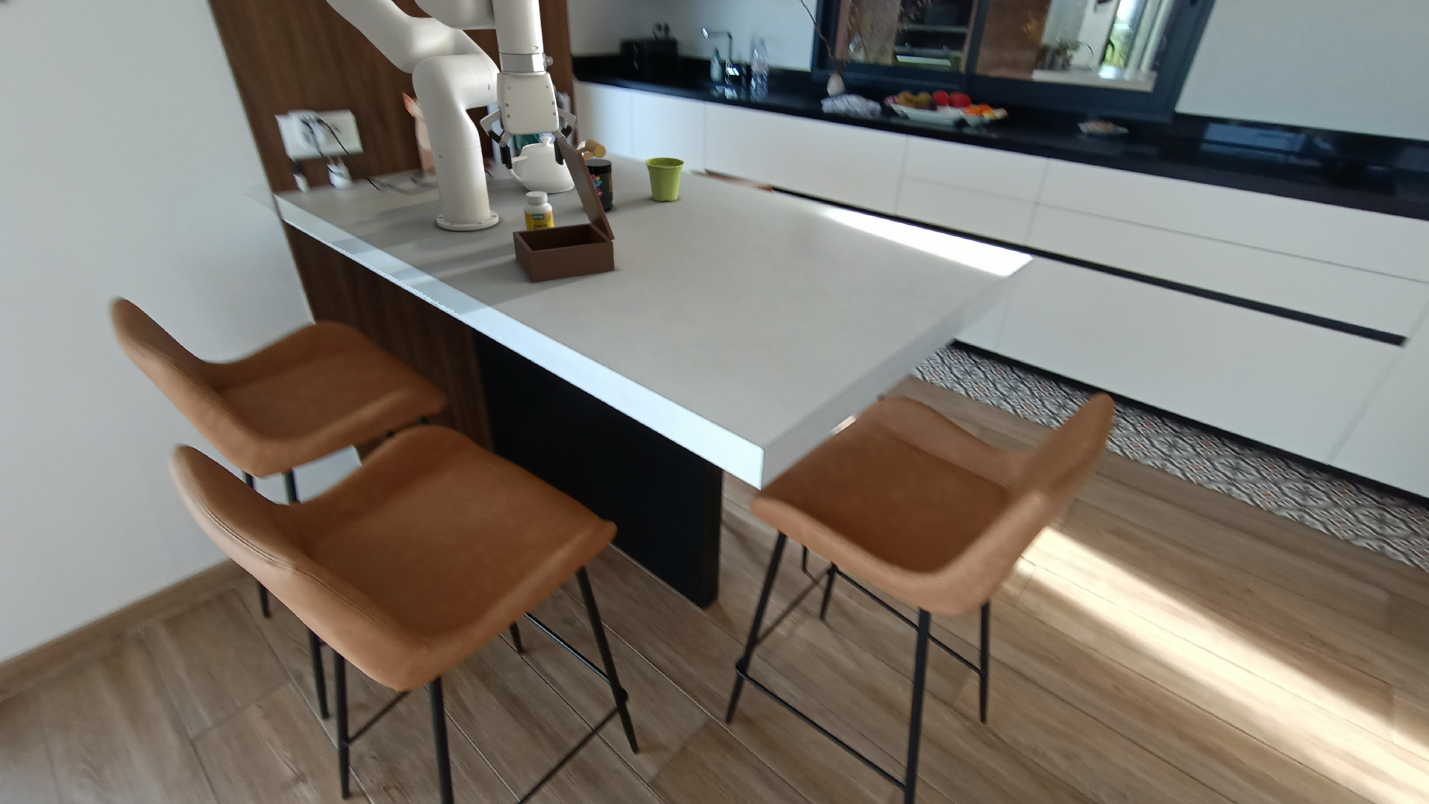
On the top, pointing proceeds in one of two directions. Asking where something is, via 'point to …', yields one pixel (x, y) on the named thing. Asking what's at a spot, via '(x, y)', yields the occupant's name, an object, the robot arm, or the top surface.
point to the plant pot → (664, 177)
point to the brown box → (563, 251)
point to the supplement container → (602, 180)
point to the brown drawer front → (586, 181)
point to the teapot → (542, 168)
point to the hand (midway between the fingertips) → (534, 165)
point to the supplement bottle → (538, 211)
